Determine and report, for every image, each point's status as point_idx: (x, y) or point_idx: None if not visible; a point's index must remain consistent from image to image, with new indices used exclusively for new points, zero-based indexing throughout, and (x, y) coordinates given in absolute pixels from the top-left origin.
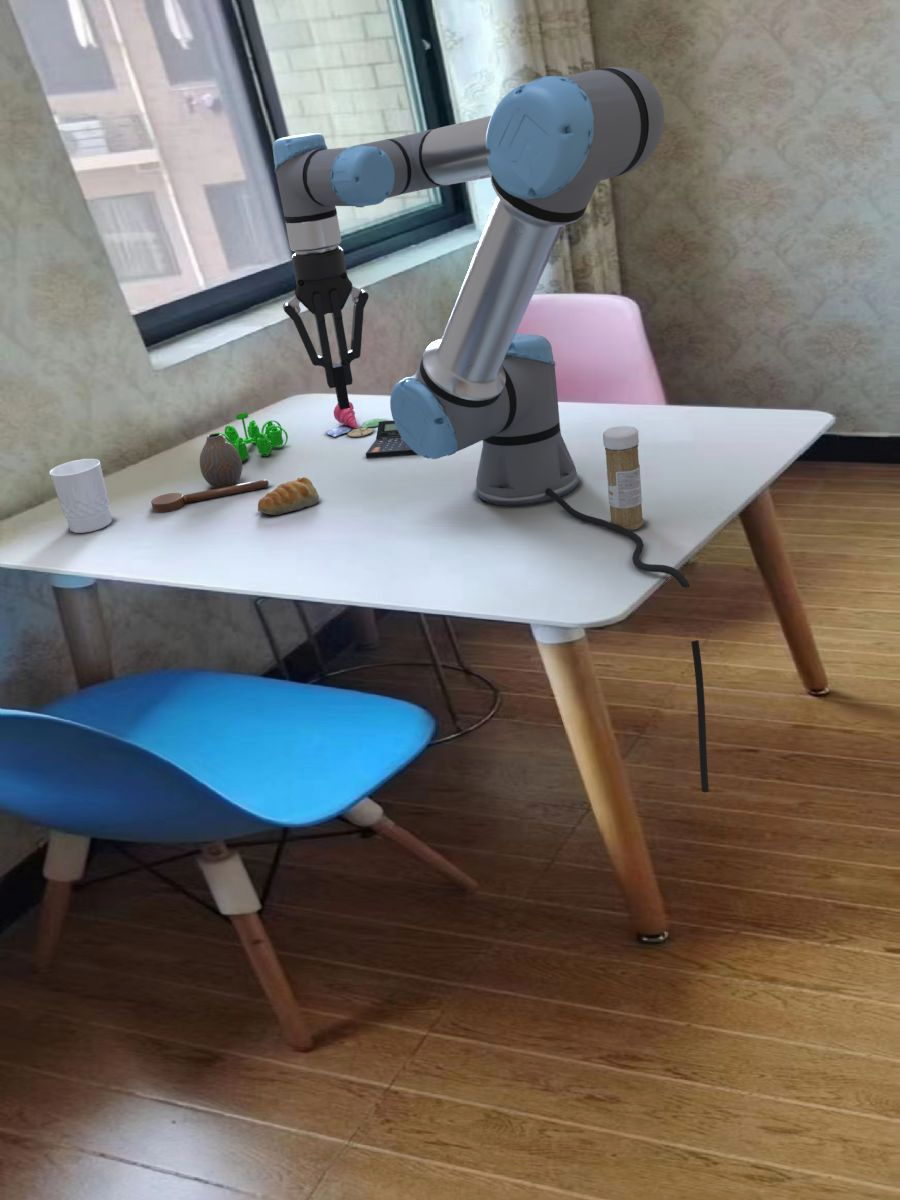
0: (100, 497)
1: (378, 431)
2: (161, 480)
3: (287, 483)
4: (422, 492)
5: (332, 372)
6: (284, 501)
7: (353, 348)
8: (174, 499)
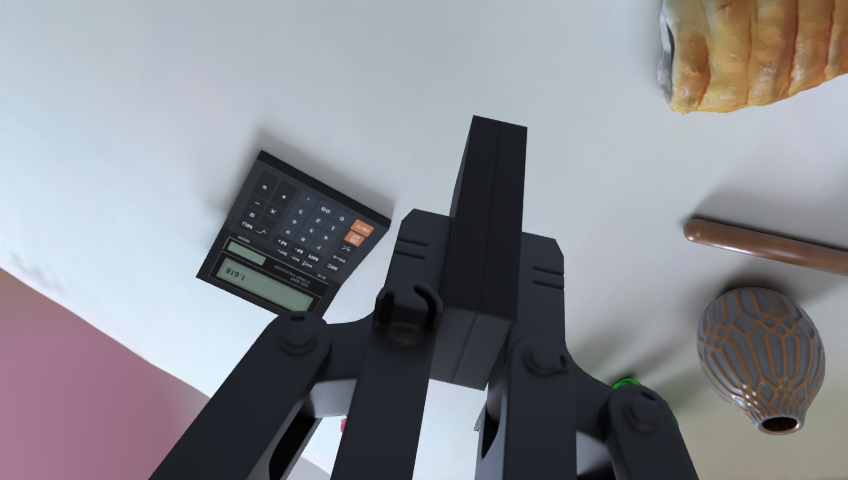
0: None
1: (326, 304)
2: (813, 407)
3: (761, 70)
4: None
5: (517, 308)
6: None
7: (297, 389)
8: None
